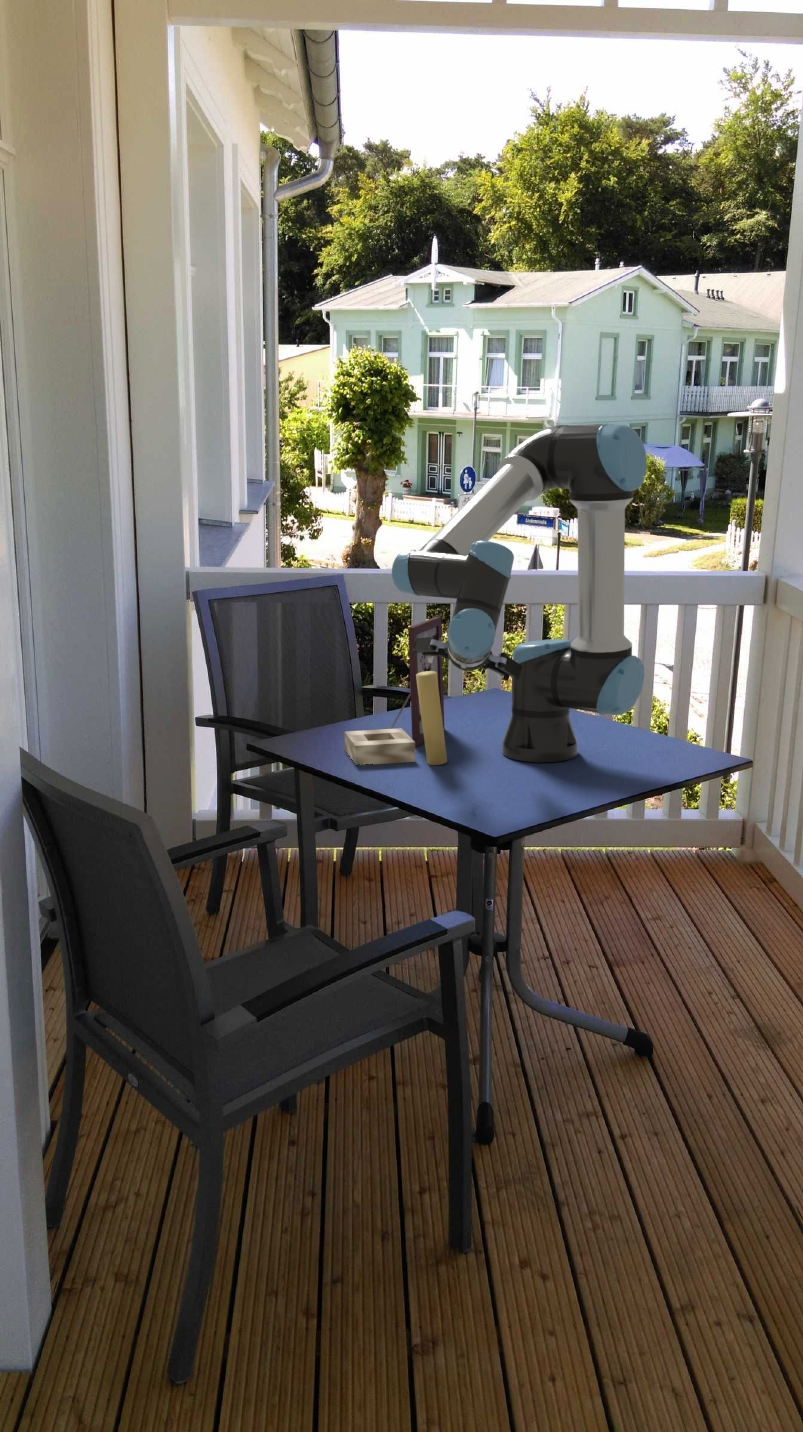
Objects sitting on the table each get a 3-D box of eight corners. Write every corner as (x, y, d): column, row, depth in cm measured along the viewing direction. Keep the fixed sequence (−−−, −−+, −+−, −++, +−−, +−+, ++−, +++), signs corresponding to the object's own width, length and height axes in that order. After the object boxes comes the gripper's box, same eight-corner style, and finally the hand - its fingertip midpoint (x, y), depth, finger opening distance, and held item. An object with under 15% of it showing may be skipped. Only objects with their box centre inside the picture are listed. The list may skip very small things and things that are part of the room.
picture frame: (417, 746, 242) (417, 627, 236) (374, 742, 245) (373, 625, 240) (444, 729, 257) (445, 616, 251) (403, 725, 260) (403, 614, 255)
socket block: (401, 746, 242) (401, 728, 241) (415, 761, 230) (415, 742, 229) (344, 750, 239) (344, 731, 238) (355, 765, 228) (355, 745, 227)
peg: (444, 757, 231) (433, 670, 227) (449, 762, 228) (438, 674, 223) (424, 760, 231) (413, 673, 226) (430, 766, 227) (418, 677, 222)
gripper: (393, 649, 200) (397, 667, 221) (534, 685, 199) (524, 700, 220) (404, 607, 201) (408, 629, 222) (544, 644, 200) (534, 662, 221)
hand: (466, 665), depth 221 cm, fingers open, 13 cm apart
